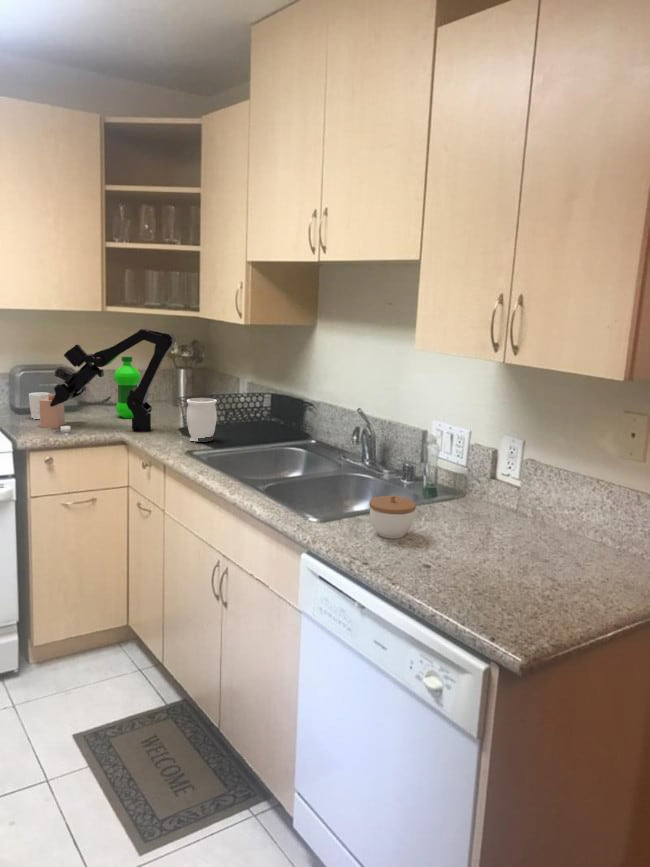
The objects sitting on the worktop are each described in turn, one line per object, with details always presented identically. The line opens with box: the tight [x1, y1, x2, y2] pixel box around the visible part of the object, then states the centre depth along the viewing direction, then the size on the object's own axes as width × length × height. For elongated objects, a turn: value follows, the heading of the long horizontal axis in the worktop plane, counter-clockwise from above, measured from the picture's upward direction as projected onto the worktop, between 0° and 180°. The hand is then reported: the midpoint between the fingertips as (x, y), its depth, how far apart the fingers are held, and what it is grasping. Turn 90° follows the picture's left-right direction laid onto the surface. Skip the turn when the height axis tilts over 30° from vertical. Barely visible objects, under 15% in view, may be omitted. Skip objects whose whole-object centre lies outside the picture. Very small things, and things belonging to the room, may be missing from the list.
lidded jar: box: [369, 494, 417, 540], centre depth 163 cm, size 11×11×9 cm
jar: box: [186, 397, 218, 442], centre depth 251 cm, size 11×10×15 cm
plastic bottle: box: [113, 355, 141, 419], centre depth 288 cm, size 10×10×25 cm
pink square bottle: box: [39, 393, 66, 429], centre depth 265 cm, size 6×7×13 cm
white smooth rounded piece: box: [59, 425, 72, 433], centre depth 255 cm, size 3×3×2 cm
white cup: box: [28, 391, 51, 420], centre depth 281 cm, size 8×8×10 cm
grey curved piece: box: [53, 429, 78, 436], centre depth 255 cm, size 8×8×1 cm
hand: (55, 403), depth 264 cm, fingers open, 9 cm apart
